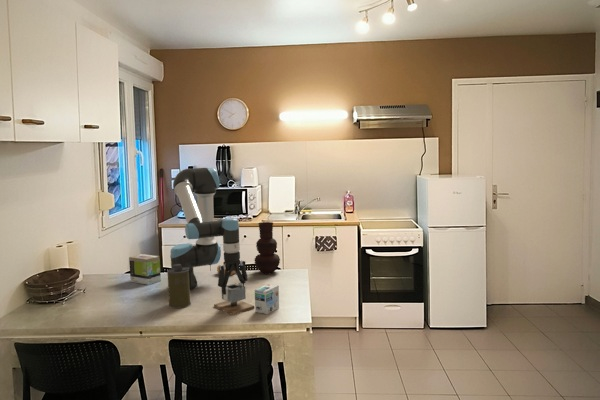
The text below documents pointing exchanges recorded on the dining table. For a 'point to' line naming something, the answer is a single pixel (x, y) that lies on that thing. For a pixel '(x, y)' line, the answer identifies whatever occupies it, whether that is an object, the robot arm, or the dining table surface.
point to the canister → (179, 286)
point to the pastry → (224, 270)
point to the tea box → (145, 269)
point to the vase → (266, 249)
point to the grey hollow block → (235, 293)
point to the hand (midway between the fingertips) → (233, 298)
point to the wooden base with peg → (234, 306)
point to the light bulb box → (266, 298)
